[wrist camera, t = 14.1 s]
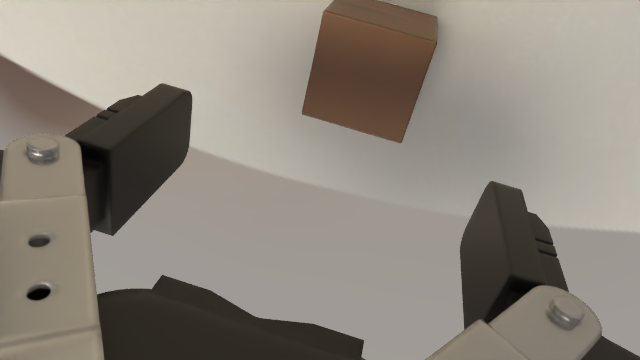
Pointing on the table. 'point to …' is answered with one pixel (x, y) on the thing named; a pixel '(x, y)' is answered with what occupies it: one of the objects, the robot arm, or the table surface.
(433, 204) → the table surface
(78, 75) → the table surface
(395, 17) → the block
